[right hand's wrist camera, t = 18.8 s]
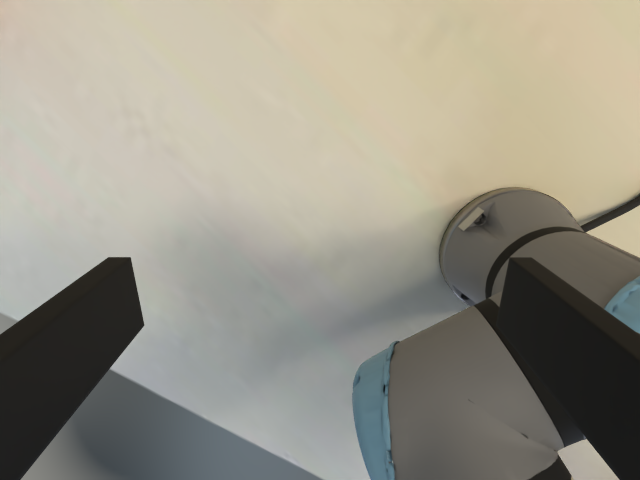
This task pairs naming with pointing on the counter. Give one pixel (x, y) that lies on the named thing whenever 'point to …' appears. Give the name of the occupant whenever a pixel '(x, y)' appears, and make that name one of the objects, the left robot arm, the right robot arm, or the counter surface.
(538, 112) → the counter surface
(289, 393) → the counter surface
